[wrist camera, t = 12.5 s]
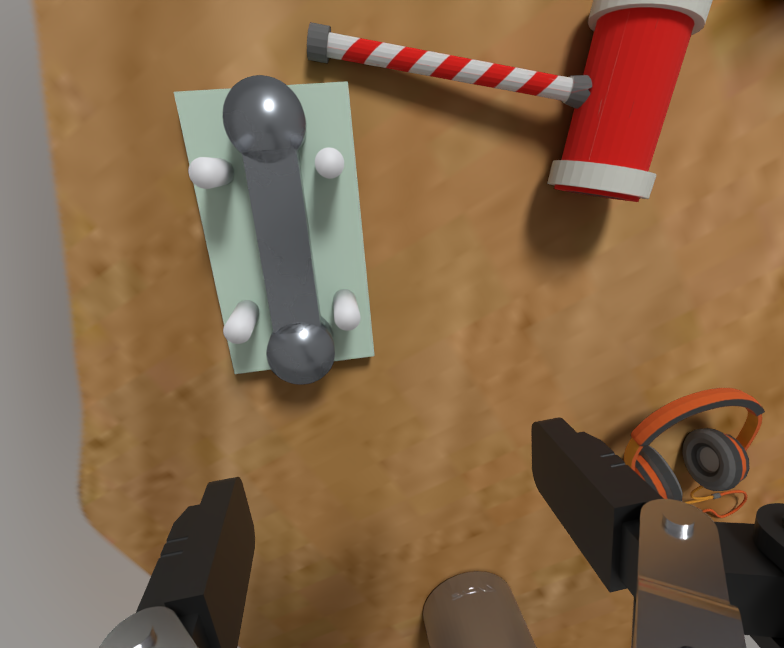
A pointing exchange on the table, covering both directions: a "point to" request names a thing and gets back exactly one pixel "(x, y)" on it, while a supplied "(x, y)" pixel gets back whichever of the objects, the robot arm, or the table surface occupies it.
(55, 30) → the table surface
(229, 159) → the tool rack
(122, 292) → the table surface
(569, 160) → the toy hammer
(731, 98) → the table surface
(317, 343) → the grey ball-ended rod
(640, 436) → the headphones
